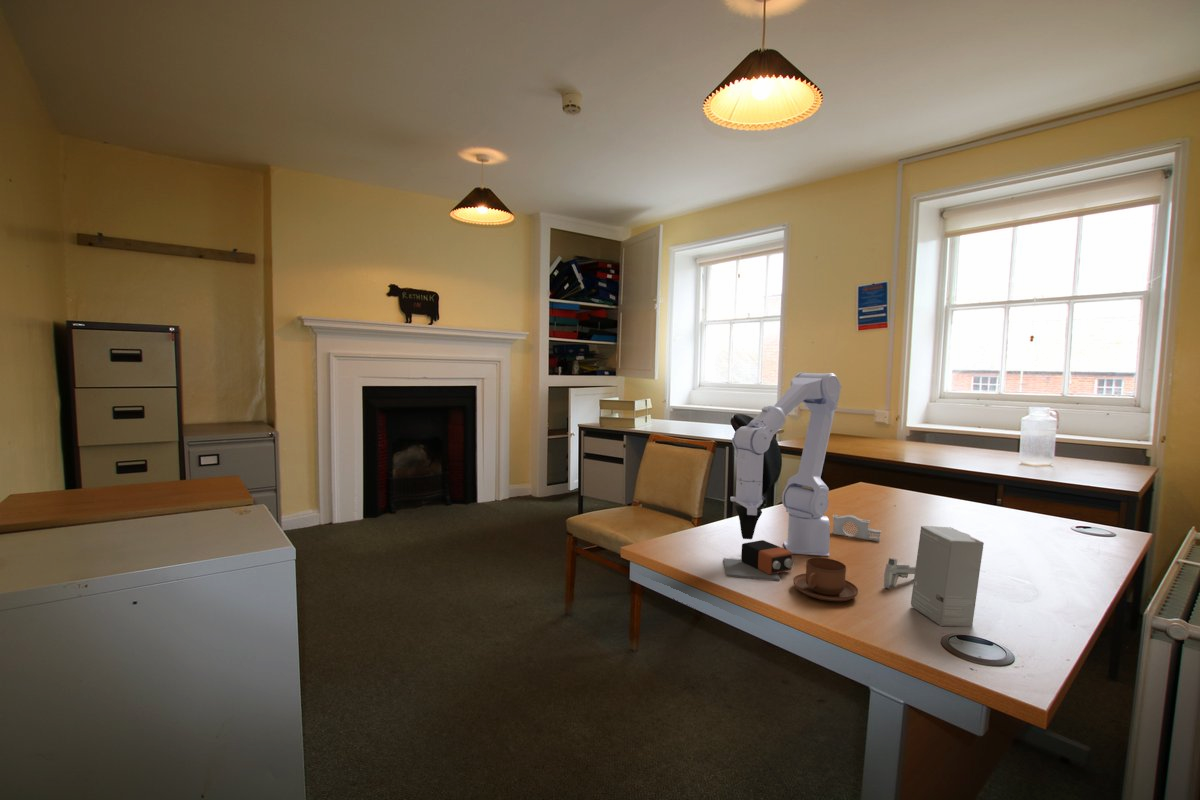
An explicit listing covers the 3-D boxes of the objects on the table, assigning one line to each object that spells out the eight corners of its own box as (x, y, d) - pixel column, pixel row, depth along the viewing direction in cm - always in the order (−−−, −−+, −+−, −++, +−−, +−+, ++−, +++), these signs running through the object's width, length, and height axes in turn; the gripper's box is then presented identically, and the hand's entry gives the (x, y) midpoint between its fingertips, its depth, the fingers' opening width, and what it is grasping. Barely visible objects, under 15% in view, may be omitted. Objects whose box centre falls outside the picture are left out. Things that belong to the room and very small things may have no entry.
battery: (762, 557, 126) (795, 572, 118) (740, 561, 123) (772, 577, 114) (763, 539, 126) (796, 552, 117) (740, 542, 123) (773, 557, 114)
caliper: (888, 591, 111) (890, 560, 110) (883, 589, 111) (885, 559, 111) (941, 573, 121) (943, 545, 121) (936, 571, 122) (938, 543, 122)
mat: (772, 564, 124) (772, 561, 124) (779, 580, 114) (780, 578, 114) (723, 560, 125) (723, 558, 125) (726, 576, 116) (726, 574, 116)
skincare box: (909, 606, 103) (914, 524, 102) (945, 606, 103) (950, 524, 102) (941, 628, 94) (946, 539, 93) (979, 627, 95) (985, 538, 94)
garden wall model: (880, 541, 143) (882, 519, 143) (880, 542, 142) (881, 520, 141) (832, 532, 150) (833, 511, 150) (831, 534, 148) (832, 512, 148)
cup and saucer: (853, 613, 100) (854, 580, 100) (786, 596, 106) (787, 566, 106) (861, 591, 110) (862, 561, 110) (799, 577, 116) (801, 549, 116)
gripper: (728, 472, 130) (726, 527, 131) (734, 485, 116) (731, 547, 117) (759, 474, 129) (756, 529, 130) (768, 487, 115) (765, 549, 116)
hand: (747, 538), depth 123 cm, fingers closed
